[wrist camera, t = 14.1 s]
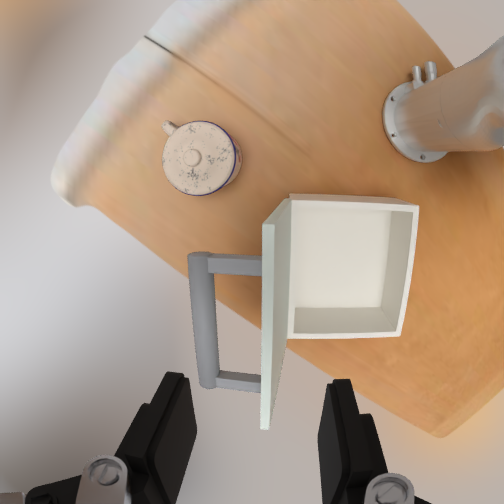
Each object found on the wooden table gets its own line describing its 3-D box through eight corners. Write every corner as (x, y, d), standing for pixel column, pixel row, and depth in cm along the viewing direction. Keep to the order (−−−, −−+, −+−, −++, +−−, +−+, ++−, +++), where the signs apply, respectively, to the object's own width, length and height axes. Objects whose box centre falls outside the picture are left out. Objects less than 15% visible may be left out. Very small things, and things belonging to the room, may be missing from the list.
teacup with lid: (257, 157, 43) (249, 154, 32) (214, 202, 46) (193, 215, 35) (197, 104, 42) (171, 86, 31) (157, 149, 44) (121, 147, 33)
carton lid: (291, 198, 36) (231, 197, 37) (274, 224, 20) (173, 222, 21) (286, 340, 41) (235, 335, 42) (269, 429, 25) (195, 418, 26)
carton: (289, 193, 44) (291, 200, 36) (394, 197, 43) (419, 205, 35) (286, 309, 49) (287, 338, 41) (382, 308, 48) (400, 336, 39)
